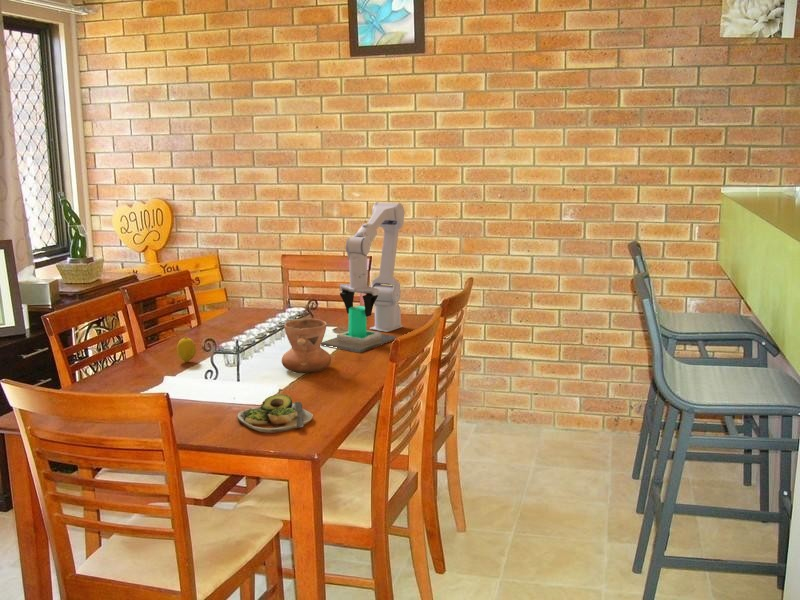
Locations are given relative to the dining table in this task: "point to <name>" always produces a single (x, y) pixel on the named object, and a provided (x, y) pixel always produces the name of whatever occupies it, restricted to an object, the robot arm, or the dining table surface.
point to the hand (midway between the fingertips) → (359, 314)
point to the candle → (357, 322)
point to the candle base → (358, 341)
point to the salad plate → (276, 415)
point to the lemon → (186, 349)
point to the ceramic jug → (305, 346)
